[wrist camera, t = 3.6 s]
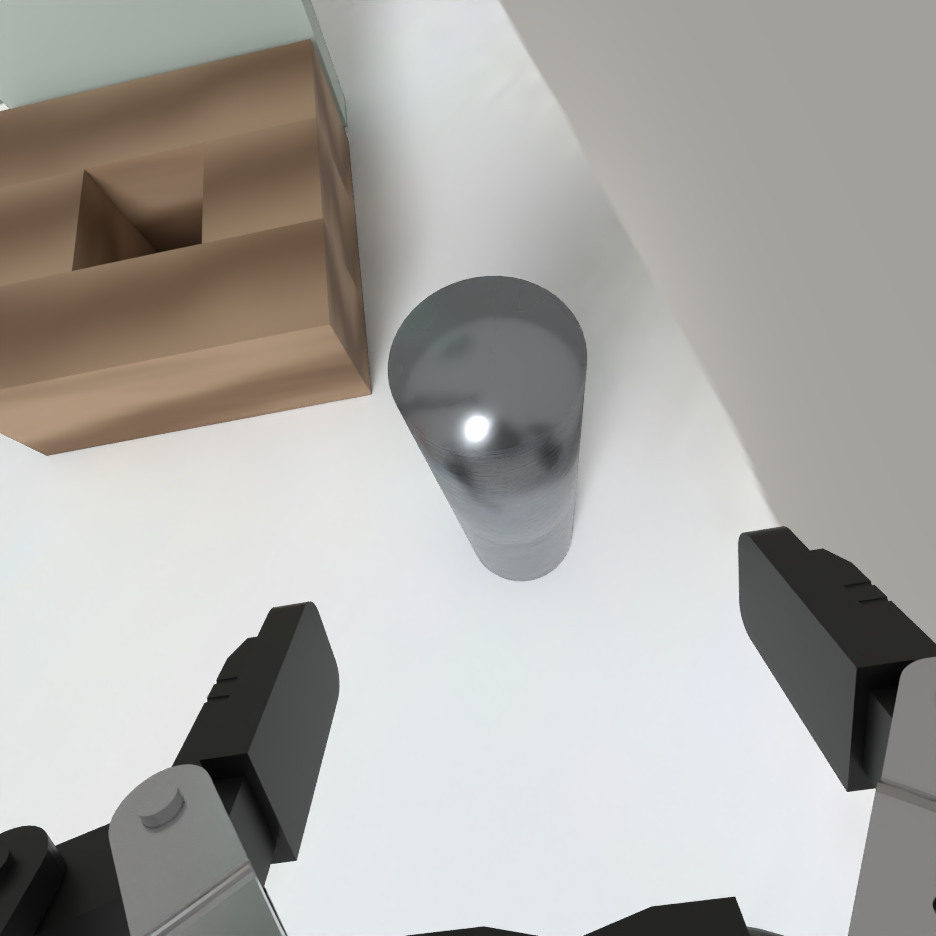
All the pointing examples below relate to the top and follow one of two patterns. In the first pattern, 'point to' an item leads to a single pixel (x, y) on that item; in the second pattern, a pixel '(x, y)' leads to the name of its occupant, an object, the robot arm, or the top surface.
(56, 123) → the socket block
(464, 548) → the top surface
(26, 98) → the pale green block
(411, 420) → the steel peg
